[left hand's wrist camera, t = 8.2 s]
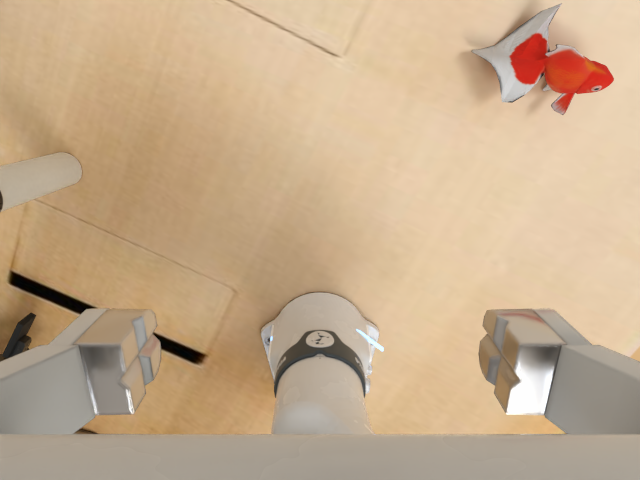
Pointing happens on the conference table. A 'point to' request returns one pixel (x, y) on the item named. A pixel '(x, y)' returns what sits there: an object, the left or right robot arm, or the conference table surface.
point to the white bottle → (37, 177)
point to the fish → (543, 64)
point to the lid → (1, 201)
